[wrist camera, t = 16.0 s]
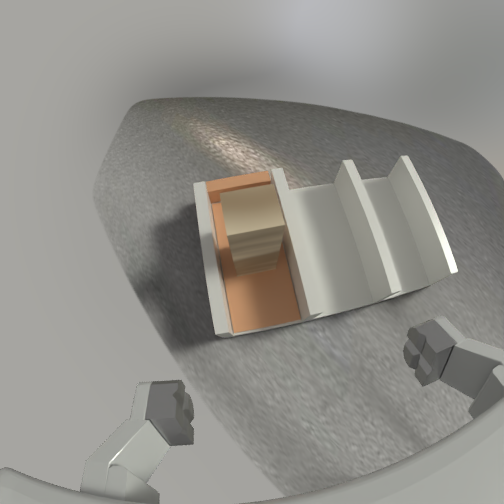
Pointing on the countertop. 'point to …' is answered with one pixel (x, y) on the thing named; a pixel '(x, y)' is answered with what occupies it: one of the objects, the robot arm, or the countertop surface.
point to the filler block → (253, 228)
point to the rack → (325, 248)
